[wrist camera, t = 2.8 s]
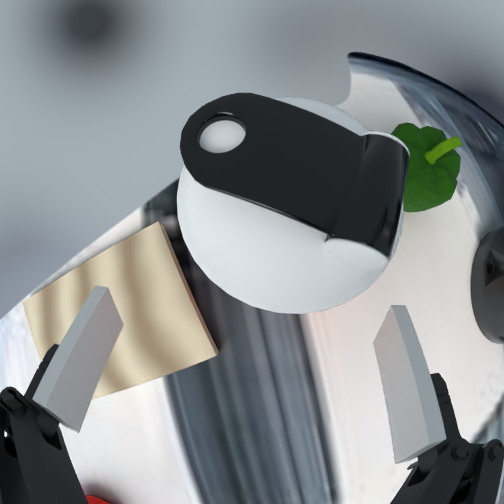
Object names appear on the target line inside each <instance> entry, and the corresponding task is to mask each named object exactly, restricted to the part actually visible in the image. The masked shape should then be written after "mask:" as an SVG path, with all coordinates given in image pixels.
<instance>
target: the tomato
mask: <svg viewBox="0 0 504 504" xmlns="http://www.w3.org/2000/svg"><path fill="white" fill-rule="evenodd" d="M85 496H86V498H87V500H88V502H89V504H110V503H108V502H106V501H104V500H102V499H100V498H97V497H94V496H89V495H85Z"/></svg>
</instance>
